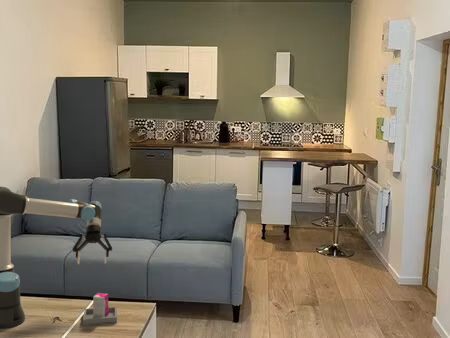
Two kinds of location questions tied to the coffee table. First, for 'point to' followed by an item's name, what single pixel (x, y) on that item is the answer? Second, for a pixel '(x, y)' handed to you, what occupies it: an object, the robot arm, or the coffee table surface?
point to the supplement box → (100, 305)
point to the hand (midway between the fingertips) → (91, 262)
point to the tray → (110, 318)
